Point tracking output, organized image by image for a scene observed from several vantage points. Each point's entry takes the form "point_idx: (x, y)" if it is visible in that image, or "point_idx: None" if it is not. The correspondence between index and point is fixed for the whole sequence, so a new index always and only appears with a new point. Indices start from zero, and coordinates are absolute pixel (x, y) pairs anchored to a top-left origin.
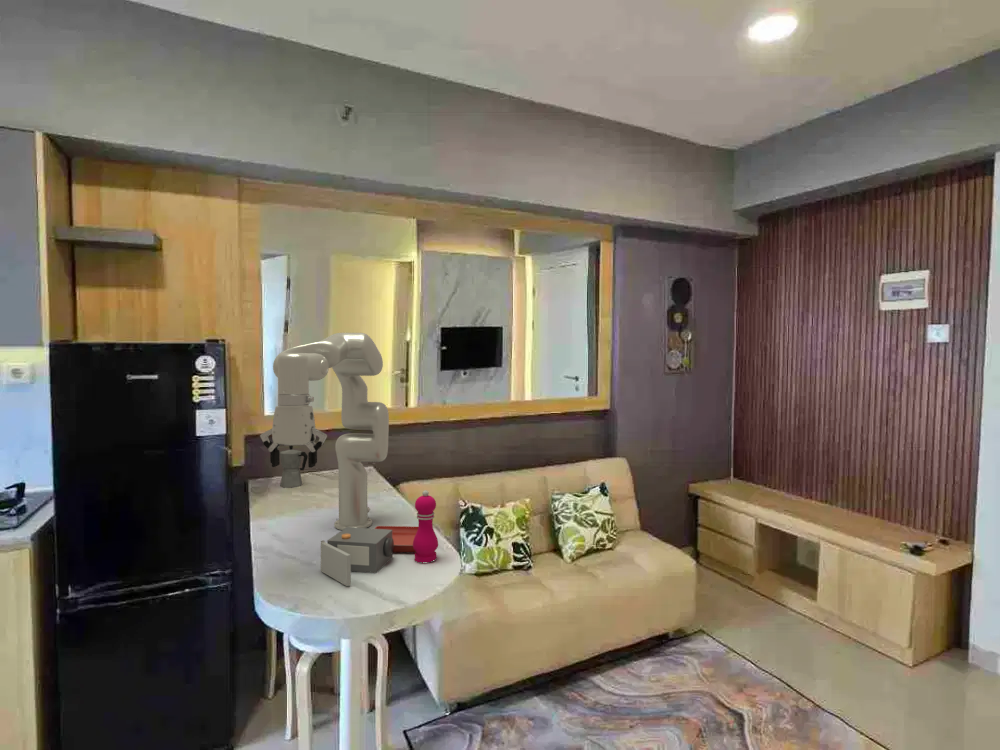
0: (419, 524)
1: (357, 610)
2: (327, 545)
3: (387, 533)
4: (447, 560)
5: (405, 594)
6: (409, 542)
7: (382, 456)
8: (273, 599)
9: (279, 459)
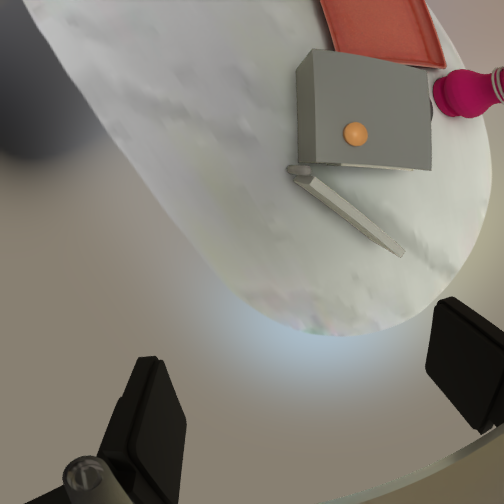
0: (489, 96)
1: (406, 309)
2: (335, 202)
3: (428, 97)
4: None
5: (453, 245)
6: (393, 16)
7: None
8: (266, 311)
9: (152, 383)
